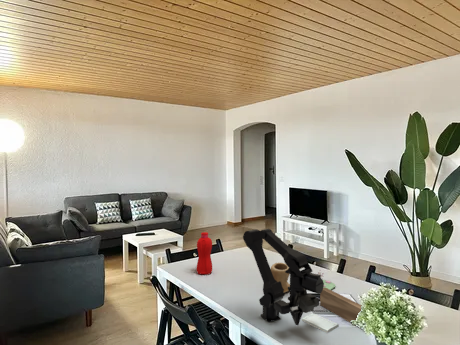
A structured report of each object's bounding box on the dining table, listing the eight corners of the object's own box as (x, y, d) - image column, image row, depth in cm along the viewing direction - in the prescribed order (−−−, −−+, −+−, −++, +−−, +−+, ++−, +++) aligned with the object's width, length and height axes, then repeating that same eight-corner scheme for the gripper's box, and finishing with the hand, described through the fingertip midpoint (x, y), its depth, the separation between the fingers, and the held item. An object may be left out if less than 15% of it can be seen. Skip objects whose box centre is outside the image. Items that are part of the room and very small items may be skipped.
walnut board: (366, 331, 120) (366, 311, 120) (320, 305, 143) (320, 288, 143) (371, 330, 121) (371, 310, 121) (324, 303, 145) (325, 287, 145)
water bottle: (213, 269, 193) (213, 230, 193) (210, 275, 183) (210, 234, 182) (199, 269, 194) (199, 230, 194) (195, 275, 183) (195, 233, 183)
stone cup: (279, 299, 149) (279, 269, 149) (261, 292, 159) (262, 263, 158) (298, 291, 159) (298, 263, 159) (281, 285, 168) (281, 258, 168)
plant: (284, 281, 175) (284, 266, 175) (307, 274, 187) (307, 259, 187) (320, 296, 155) (321, 278, 155) (343, 286, 168) (343, 270, 167)
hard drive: (339, 323, 124) (313, 312, 134) (327, 330, 119) (301, 318, 129) (338, 327, 124) (313, 316, 134) (327, 334, 119) (301, 321, 129)
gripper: (290, 298, 110) (290, 340, 110) (329, 289, 118) (329, 329, 118) (273, 287, 120) (272, 326, 120) (310, 279, 128) (309, 316, 128)
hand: (296, 324), depth 121 cm, fingers closed
